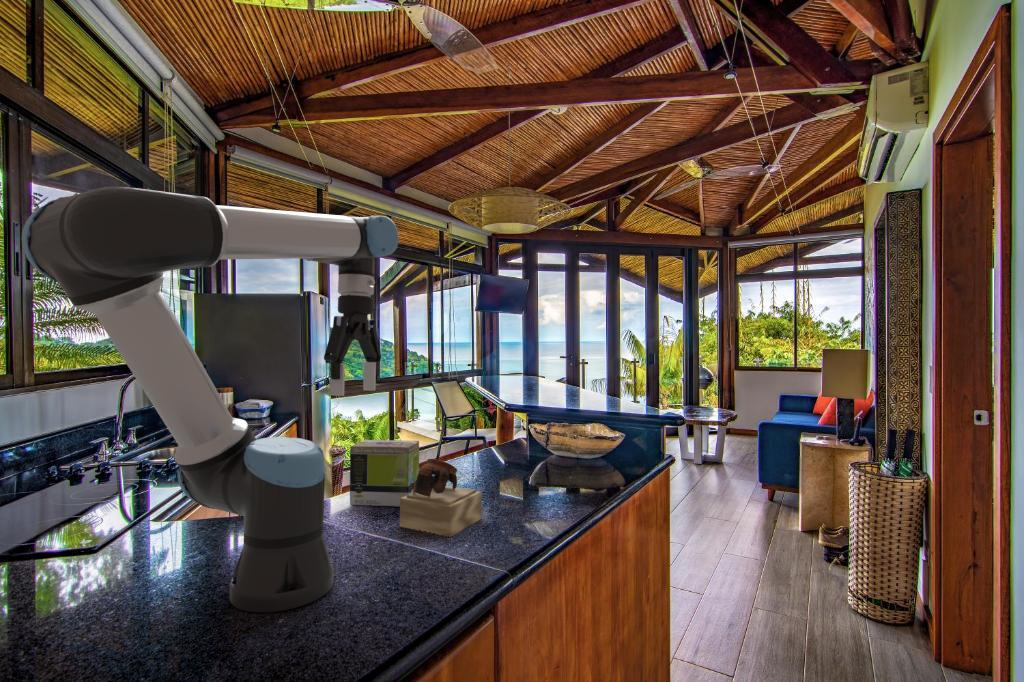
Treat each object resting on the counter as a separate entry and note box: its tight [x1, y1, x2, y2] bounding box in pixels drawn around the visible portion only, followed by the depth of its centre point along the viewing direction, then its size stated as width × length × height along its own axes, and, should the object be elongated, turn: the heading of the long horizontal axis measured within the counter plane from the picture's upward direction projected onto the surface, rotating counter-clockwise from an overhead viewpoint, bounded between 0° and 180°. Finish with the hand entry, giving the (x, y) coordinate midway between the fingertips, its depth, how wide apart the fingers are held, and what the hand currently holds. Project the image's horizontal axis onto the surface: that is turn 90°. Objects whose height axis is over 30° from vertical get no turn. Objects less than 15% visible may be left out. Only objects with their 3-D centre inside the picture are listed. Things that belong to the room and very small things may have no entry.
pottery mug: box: [413, 458, 458, 497], centre depth 115 cm, size 12×10×8 cm
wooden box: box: [399, 484, 483, 538], centre depth 116 cm, size 13×13×7 cm
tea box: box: [349, 439, 420, 508], centre depth 131 cm, size 15×10×15 cm
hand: (354, 392), depth 114 cm, fingers open, 13 cm apart
